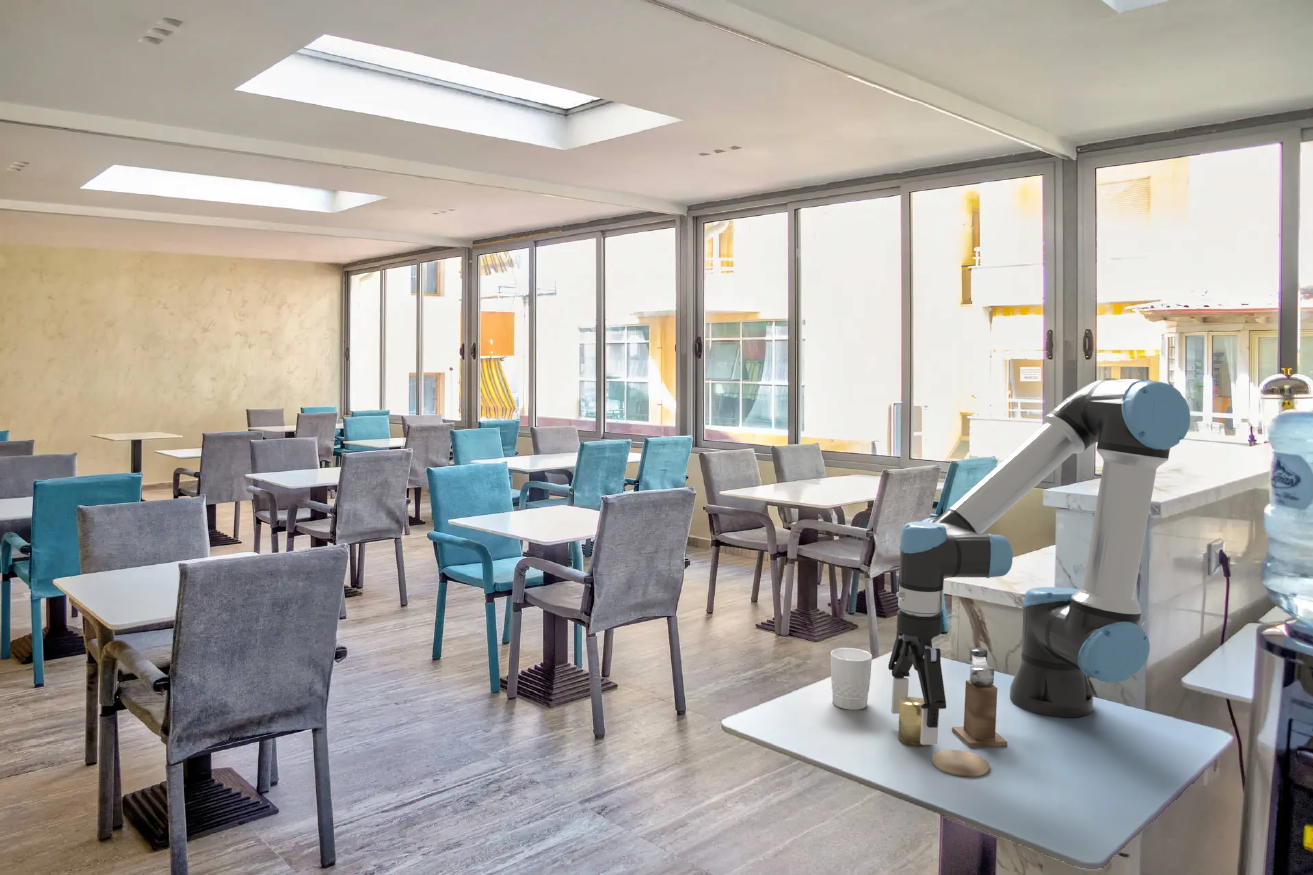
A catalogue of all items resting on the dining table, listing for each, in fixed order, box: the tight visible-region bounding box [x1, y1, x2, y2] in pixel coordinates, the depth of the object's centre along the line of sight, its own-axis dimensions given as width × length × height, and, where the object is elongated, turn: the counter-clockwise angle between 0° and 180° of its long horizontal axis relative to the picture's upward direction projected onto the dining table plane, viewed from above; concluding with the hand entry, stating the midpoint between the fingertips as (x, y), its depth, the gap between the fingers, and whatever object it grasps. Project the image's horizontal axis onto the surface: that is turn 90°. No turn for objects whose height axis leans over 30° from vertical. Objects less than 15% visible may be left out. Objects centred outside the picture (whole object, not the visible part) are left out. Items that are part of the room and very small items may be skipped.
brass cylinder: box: [897, 696, 930, 749], centre depth 164 cm, size 6×6×7 cm
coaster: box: [932, 749, 990, 778], centre depth 155 cm, size 9×9×1 cm
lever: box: [968, 646, 995, 686], centre depth 170 cm, size 16×4×2 cm, turn 164°
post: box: [951, 679, 1008, 748], centre depth 166 cm, size 7×7×10 cm
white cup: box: [830, 647, 873, 711], centre depth 181 cm, size 8×8×10 cm
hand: (913, 727), depth 164 cm, fingers open, 13 cm apart
